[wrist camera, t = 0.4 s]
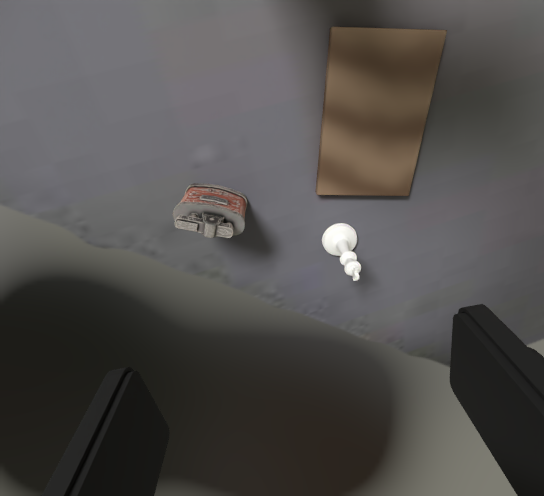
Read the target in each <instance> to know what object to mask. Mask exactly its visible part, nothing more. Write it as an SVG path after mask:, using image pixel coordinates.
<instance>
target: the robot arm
mask: <svg viewBox="0 0 544 496" xmlns="http://www.w3.org/2000/svg"><path fill="white" fill-rule="evenodd" d="M450 384H451V387H452V389H453V392H454V394H455V395H456V397H457V398H458V400H459V402H460V403H461V405H462V406H463V408H464V410H465V411H466V413H467V415H468V416H469V418H470V419H471V421H472V423H473V424H474V426H475V427H476V429H477V431H478V432H479V434H480V436H481V437H482V439H483V441H484V442H485V444H486V445H487V447H488V448H489V450H490V452H491V453H492V455H493V457H494V458H495V460H496V461H497V463H498V465H499V466H500V468H501V469H502V471H503V473H504V474H505V476H506V478H507V479H508V481H509V482H510V484H511V486H512V487H513V489H514V491H515V492H516V494H517V495H518V496H544V357H543V356H542V355H541V354H539V353H538V352H537V351H536V350H534V349H532V348H529V347H527V346H526V345H525V344H524V343H523V342H522V341H521V340H520V339H519V338H518V337H517V336H516V335H515V334H514V333H513V332H512V331H511V330H510V329H509V328H508V327H507V326H506V325H505V324H504V323H503V322H502V321H501V320H500V319H499V318H498V317H497V316H496V315H495V314H494V313H493V312H492V311H491V310H490V309H489V308H488V307H486V306H485V305H483V304H480V305H474V306H469V307H463V308H460V309H459V312H458V314H455V315H454V317H453V330H452V348H451V366H450ZM168 440H169V427H168V425H167V423H166V421H165V419H164V417H163V415H162V414H161V412H160V410H159V409H158V406H157V405H156V403H155V401H154V399H153V398H152V396H151V394H150V392H149V390H148V388H147V387H146V385H145V383H144V381H143V379H142V378H141V376H140V374H139V372H137V371H134V370H133V369H132V368H130V367H127V368H121V369H116V370H111V371H109V372H108V373H107V375H106V376H105V378H104V380H103V382H102V384H101V386H100V388H99V389H98V391H97V393H96V395H95V397H94V399H93V401H92V402H91V404H90V406H89V408H88V410H87V412H86V414H85V416H84V417H83V419H82V421H81V423H80V425H79V427H78V429H77V430H76V432H75V434H74V436H73V438H72V440H71V442H70V444H69V445H68V447H67V449H66V451H65V453H64V455H63V457H62V458H61V460H60V462H59V464H58V466H57V468H56V470H55V472H54V474H53V475H52V477H51V479H50V481H49V483H48V485H47V486H46V488H45V490H44V492H43V494H42V496H154V493H155V490H156V486H157V482H158V478H159V474H160V471H161V467H162V463H163V459H164V455H165V451H166V448H167V444H168Z"/></svg>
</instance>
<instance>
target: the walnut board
mask: <svg viewBox="0 0 544 496" xmlns="http://www.w3.org/2000/svg"><path fill="white" fill-rule="evenodd" d="M446 33H447V30H423V29H390V28H356V27H331V28H330V36H329V48H328V59H327V70H326V81H325V92H324V104H323V115H322V126H321V137H320V149H319V160H318V171H317V182H316V194H317V195H389V196H409V192H410V188H411V183H412V179H413V175H414V171H415V166H416V162H417V158H418V153H419V149H420V145H421V140H422V136H423V132H424V127H425V123H426V119H427V115H428V110H429V106H430V102H431V97H432V93H433V89H434V84H435V80H436V76H437V71H438V67H439V63H440V58H441V54H442V50H443V46H444V41H445V37H446Z"/></svg>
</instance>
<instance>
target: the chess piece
mask: <svg viewBox="0 0 544 496" xmlns="http://www.w3.org/2000/svg"><path fill="white" fill-rule="evenodd" d="M356 243H357V235H356V232H355V230H354V229H353V228H352V227H351V226H350V225H348V224H343V223H339V224H335V225H332V226H331V227H329V228H328V229H327V230H326V231H325V233H324V234H323V237H322V244H323V246H324V248H325V249H326V251H327V252H328V253H330V254H332V255H335V256H341V257H340V262H341V263H342V264H343V265H344V266H345V272H346V274H348V275H351V276H353V281H357V280H358V279H359V274H358V273H359V272H360V271H361V265H360V263H359V262H357V261H356V260H357V256H356V254H355V253H354V252H352V250H353V249H354V247H355V246H356Z"/></svg>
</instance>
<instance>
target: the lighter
mask: <svg viewBox="0 0 544 496" xmlns="http://www.w3.org/2000/svg"><path fill="white" fill-rule="evenodd" d="M246 207H247V198H246V196H245V195H244V194H242V193H240V192H238V191H235V190H233V189H230V188H226V187H223V186H219V185H212V184H198V183H194V184H191V185H189V187H188V188H187V190H186V192H185V196H184V197H183V199H182V200H181V202H180V203H179V204H177V206H176V207H175V209H174V211H173V218H174V220H175V226H176V227H177V228H179V229H185V230H190V231H195V232H200V233H201V234H203V235H204V236H205V237H209V238H214V237H217V236H221V237H226V238H230V237H232V236H236V235H239V234H241V233H242V232H243V230H244V228H245V219H244V216H245V210H246Z"/></svg>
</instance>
